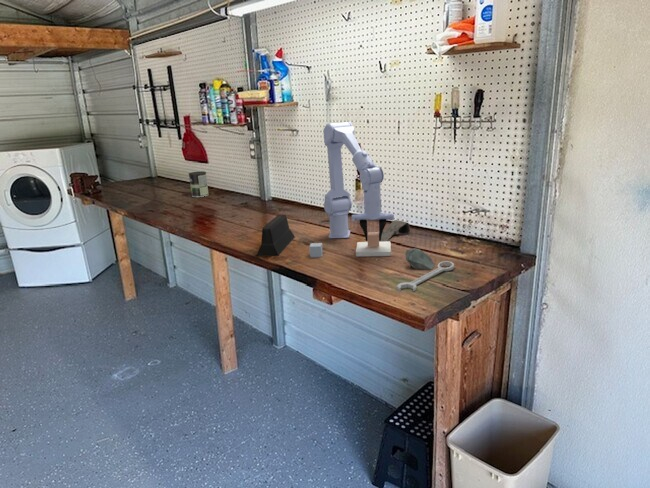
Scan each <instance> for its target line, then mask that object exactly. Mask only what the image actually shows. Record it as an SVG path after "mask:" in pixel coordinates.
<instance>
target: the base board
mask: <svg viewBox="0 0 650 488" xmlns="http://www.w3.org/2000/svg"><path fill="white" fill-rule="evenodd" d="M391 247H392V245H391V241H389V240H388V241H383V242H379V246H370V247H368V241H357V242H356V248H355V257H391V256H392V248H391Z"/></svg>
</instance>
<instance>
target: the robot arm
mask: <svg viewBox="0 0 650 488" xmlns="http://www.w3.org/2000/svg"><path fill="white" fill-rule="evenodd" d="M353 125H354V124H353V123H352V122H351V121H346V122H345V121H344V122H334V123H333V122H332V123H326V124H325V126H324V128H323V141H324V146H325V147H326V151H327V161H328V172H329V185H330V190H329V191H327V192H326V193H325V195H324V203H323V209H324V212H325V213H326V214H327V215H328V216H329V234H328V239H348V238H349V237H350V234H351V230H349V219H348V218H349V217H348V214H350V211H351V210H352V208H353V201H352V199H351V196H350V195H351V194H350V192H349V191H347V190H346V189H345V186H344V174H343V172H344V171H343V162H342V158H343V157H342V147H343V146H345V147H346V149H347V150H348V152H350V154H351V155H352V158H351V159H352V160H351V161H352V162H353V165H354V166H355V168H356V170H357V171H358V172H359V174H360V175H359V181H360V184H361V189H362V190H363V206H364V207H363V209H364V210H363V211H364V213H359V214H357V213H356V214H351V222H358V221H359V226H360V228H361V229H362V231H363V234H364V238H365V239H366V241H365V242H368V240H367V234H368V232H369V231H368V221H378V232H379V241H381V236H382V232H383V230H385V227H386V225H387V221H394V220H395V214H394V213H386V212H385V213H383V212H382V206H381V205H382V202H381V199H382V198H381V184H382V183H383V181H384V176H385V173H384V170H383V169H382V167H381V166H379V165H377V164H375V163H374V162H373V160H372V159H371V157H370V156H369V154H368V152H367V151H366V150H362V148H361V146H360V143H359V142H358V141H357V139H356V136H355V126H353Z"/></svg>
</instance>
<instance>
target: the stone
mask: <svg viewBox="0 0 650 488" xmlns="http://www.w3.org/2000/svg"><path fill="white" fill-rule="evenodd" d="M432 259H433V258H431V256H429V255H428V254H427V253H426V252H424V251H423V250H421V249H419V248H413V247H412V248H409V249H407V250H406V251H405V260H406V261H407V263H408V264H409V265H410V266H412V268H413V269H419V270H426V271H433V270H434V268H435V263H434V261H433V260H432Z"/></svg>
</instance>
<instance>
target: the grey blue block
mask: <svg viewBox="0 0 650 488" xmlns="http://www.w3.org/2000/svg"><path fill="white" fill-rule="evenodd" d="M308 249H309V258H322V257H323V255H324V252H323V251H324V250H323V243H322V242H310V244H309V248H308Z"/></svg>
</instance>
